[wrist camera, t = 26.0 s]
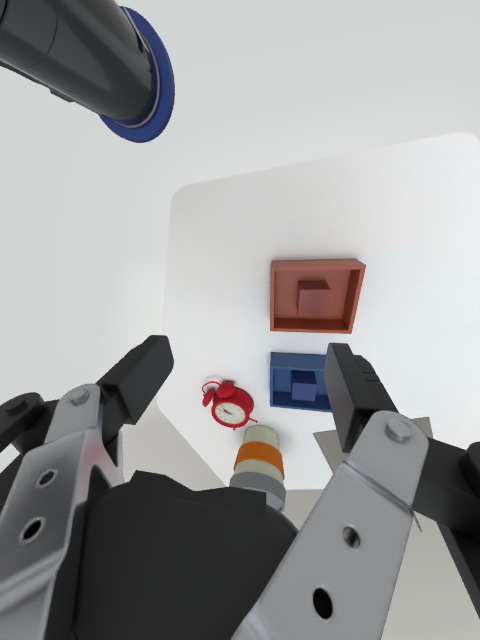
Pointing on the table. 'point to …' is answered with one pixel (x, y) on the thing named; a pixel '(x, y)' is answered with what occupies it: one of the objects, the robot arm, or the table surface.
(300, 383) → the navy block
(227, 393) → the alarm clock
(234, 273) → the table surface
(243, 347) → the table surface
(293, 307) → the terracotta bin
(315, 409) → the blue bin
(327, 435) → the architectural model
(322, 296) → the red block
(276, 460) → the reusable coffee cup
